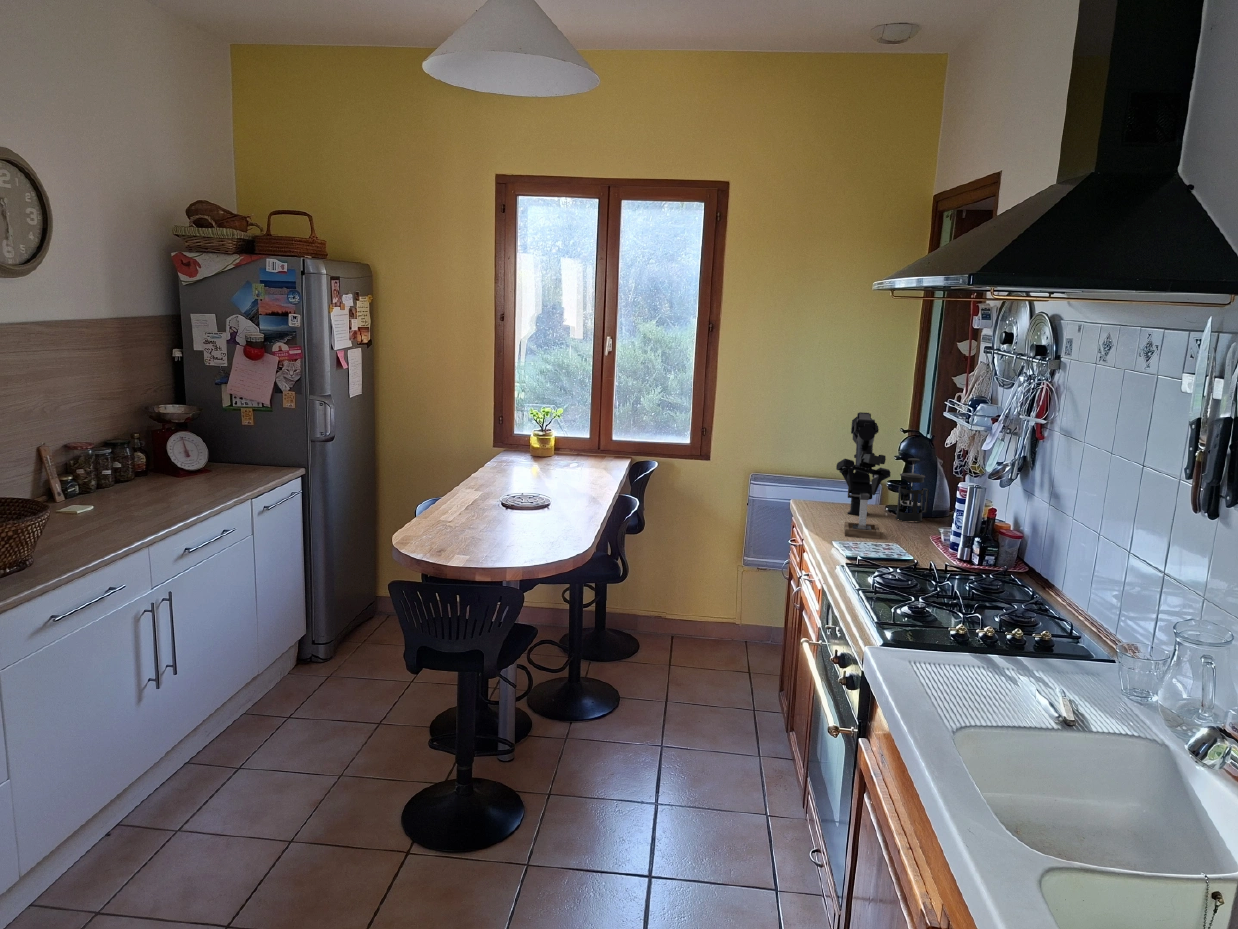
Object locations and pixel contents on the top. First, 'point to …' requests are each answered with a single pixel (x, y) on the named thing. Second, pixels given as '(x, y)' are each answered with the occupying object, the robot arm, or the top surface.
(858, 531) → the dock
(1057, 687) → the top surface
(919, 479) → the french press
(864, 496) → the post on square base
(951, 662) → the top surface
